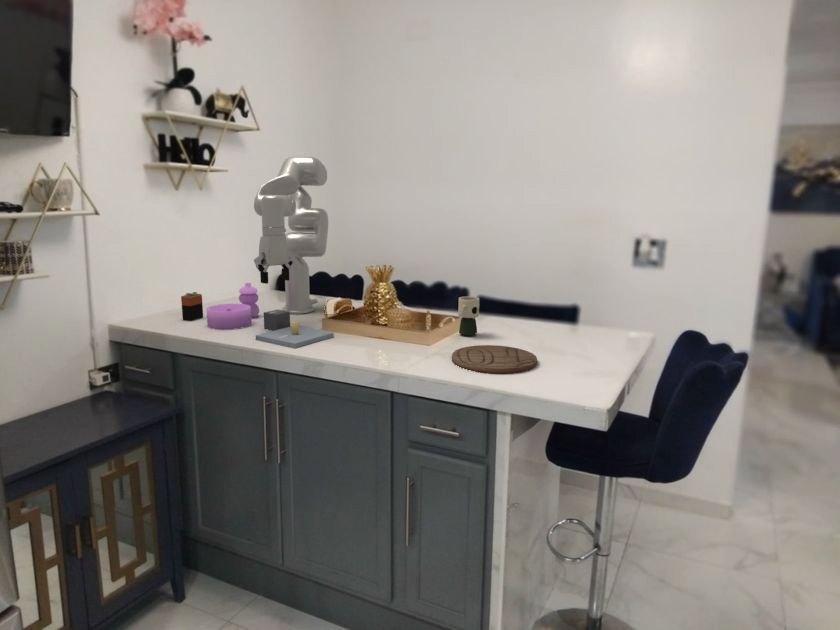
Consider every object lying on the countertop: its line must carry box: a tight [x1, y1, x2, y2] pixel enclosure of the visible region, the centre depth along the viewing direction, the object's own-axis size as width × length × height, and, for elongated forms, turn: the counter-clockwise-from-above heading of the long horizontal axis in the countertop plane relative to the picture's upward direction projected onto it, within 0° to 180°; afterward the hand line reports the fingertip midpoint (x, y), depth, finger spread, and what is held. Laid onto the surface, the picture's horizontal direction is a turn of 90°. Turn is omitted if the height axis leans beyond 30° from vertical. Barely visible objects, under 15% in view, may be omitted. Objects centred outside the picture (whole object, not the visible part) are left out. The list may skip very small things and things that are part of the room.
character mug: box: [457, 296, 480, 337], centre depth 208 cm, size 11×7×13 cm, turn 153°
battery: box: [180, 291, 204, 322], centre depth 228 cm, size 4×7×10 cm, turn 159°
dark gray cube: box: [263, 309, 291, 331], centre depth 215 cm, size 6×6×6 cm
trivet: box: [451, 344, 538, 375], centre depth 179 cm, size 25×25×2 cm
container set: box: [206, 282, 260, 330], centre depth 224 cm, size 25×15×13 cm, turn 165°
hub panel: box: [255, 321, 335, 349], centre depth 202 cm, size 18×18×6 cm
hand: (275, 281), depth 211 cm, fingers open, 9 cm apart
